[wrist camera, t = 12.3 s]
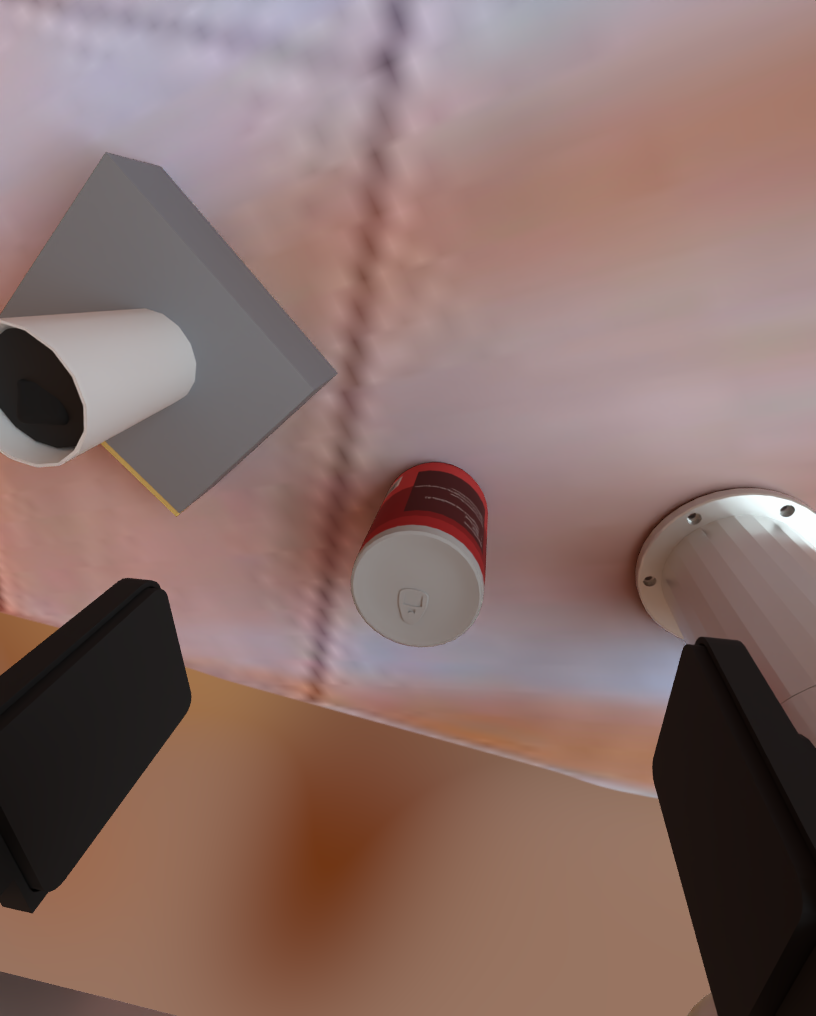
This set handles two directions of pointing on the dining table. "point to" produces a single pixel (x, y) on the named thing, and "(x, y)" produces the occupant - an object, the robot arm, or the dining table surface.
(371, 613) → the canned food
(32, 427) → the white cup
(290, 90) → the dining table surface
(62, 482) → the dining table surface
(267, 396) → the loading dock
